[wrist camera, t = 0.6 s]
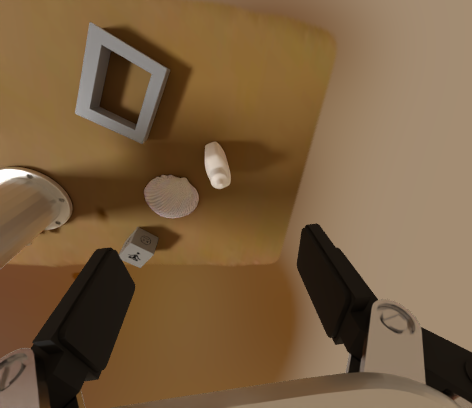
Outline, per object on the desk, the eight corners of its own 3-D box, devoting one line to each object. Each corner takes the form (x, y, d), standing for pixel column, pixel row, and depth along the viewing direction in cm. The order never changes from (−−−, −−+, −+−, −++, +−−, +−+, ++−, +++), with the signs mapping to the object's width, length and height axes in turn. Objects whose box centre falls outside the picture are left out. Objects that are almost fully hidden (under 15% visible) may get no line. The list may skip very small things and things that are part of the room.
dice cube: (125, 240, 43) (117, 257, 39) (138, 226, 42) (130, 242, 37) (146, 250, 45) (140, 268, 41) (159, 237, 44) (153, 254, 40)
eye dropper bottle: (230, 142, 35) (240, 167, 25) (225, 172, 38) (233, 205, 28) (205, 139, 34) (205, 163, 24) (202, 169, 37) (201, 202, 27)
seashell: (210, 195, 37) (182, 237, 38) (206, 186, 41) (182, 224, 43) (158, 165, 32) (129, 214, 34) (160, 160, 37) (135, 203, 39)
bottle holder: (147, 139, 33) (142, 144, 30) (86, 111, 30) (75, 113, 27) (170, 69, 28) (167, 68, 26) (101, 28, 25) (89, 21, 23)
